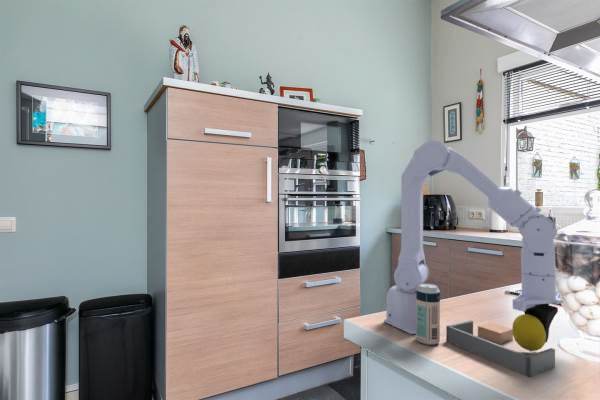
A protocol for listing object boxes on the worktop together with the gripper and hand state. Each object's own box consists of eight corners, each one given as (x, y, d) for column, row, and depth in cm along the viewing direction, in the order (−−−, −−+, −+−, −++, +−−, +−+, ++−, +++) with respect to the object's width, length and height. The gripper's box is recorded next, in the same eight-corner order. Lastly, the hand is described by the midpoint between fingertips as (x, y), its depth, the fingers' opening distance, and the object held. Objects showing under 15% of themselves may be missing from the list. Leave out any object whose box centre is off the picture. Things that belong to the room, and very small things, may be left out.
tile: (477, 337, 77) (477, 326, 77) (490, 333, 80) (490, 322, 80) (500, 345, 73) (500, 333, 73) (512, 340, 75) (513, 329, 75)
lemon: (534, 339, 71) (530, 304, 70) (554, 356, 66) (551, 318, 64) (508, 345, 71) (504, 310, 70) (527, 362, 66) (522, 325, 64)
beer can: (441, 340, 74) (441, 284, 74) (438, 348, 70) (438, 289, 70) (417, 335, 77) (418, 282, 77) (413, 343, 72) (414, 286, 72)
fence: (446, 340, 74) (446, 325, 74) (470, 334, 78) (470, 320, 78) (529, 376, 59) (529, 358, 59) (554, 366, 62) (555, 349, 62)
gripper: (539, 281, 63) (541, 356, 62) (579, 273, 69) (581, 340, 69) (501, 274, 69) (503, 342, 69) (541, 267, 76) (542, 329, 75)
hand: (539, 341), depth 69 cm, fingers closed, pressing on lemon
